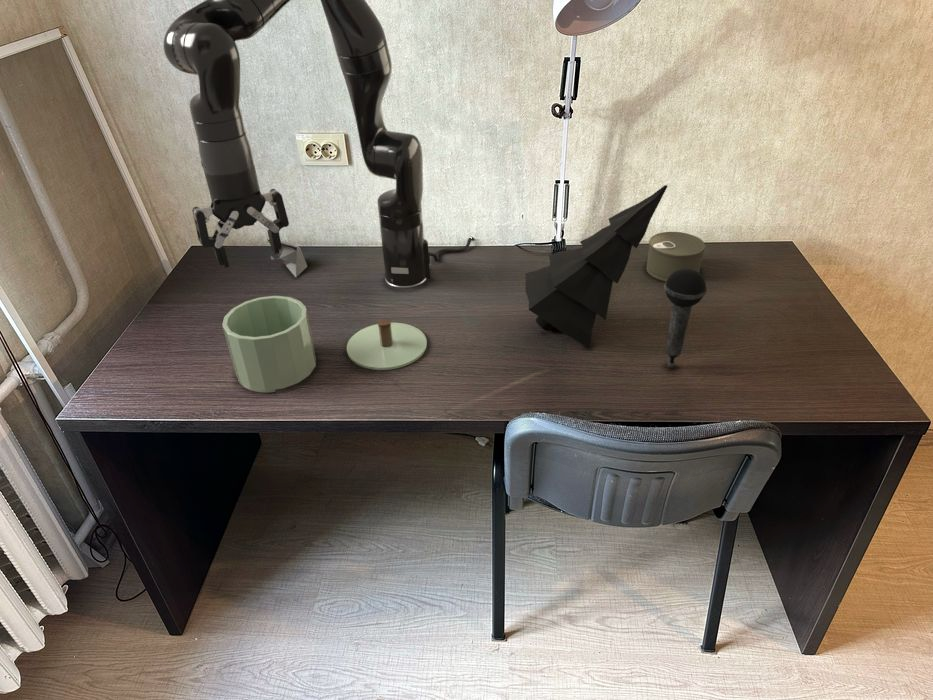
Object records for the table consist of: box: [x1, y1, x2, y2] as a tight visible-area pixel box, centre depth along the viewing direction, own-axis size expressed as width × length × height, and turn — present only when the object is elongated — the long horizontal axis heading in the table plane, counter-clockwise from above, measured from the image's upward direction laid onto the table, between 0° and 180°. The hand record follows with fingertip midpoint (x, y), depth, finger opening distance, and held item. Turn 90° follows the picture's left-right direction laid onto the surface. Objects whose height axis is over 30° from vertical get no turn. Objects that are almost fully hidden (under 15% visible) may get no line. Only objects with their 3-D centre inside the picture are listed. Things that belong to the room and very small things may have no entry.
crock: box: [221, 295, 317, 394], centre depth 122 cm, size 14×14×12 cm
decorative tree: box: [525, 184, 668, 349], centre depth 125 cm, size 15×15×35 cm
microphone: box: [663, 268, 708, 369], centre depth 116 cm, size 7×7×20 cm
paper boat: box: [266, 238, 308, 278], centre depth 157 cm, size 12×6×9 cm
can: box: [646, 231, 706, 282], centre depth 150 cm, size 12×12×7 cm
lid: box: [346, 318, 428, 371], centre depth 128 cm, size 15×15×6 cm
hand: (251, 258), depth 112 cm, fingers open, 8 cm apart
